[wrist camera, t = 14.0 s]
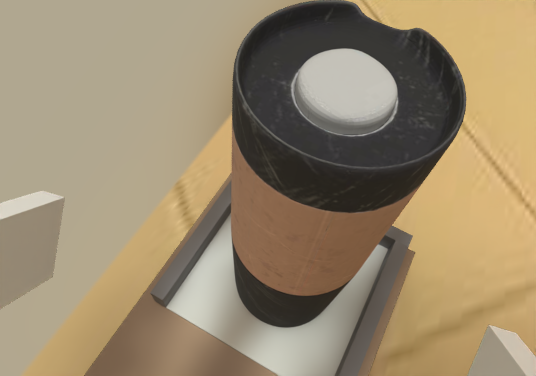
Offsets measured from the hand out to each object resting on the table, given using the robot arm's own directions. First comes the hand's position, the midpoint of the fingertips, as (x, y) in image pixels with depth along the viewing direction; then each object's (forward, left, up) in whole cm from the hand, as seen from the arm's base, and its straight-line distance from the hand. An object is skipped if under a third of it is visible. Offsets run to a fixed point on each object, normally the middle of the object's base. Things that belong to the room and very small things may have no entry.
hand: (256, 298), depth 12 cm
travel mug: (-4, -6, -17) cm, 18 cm away
